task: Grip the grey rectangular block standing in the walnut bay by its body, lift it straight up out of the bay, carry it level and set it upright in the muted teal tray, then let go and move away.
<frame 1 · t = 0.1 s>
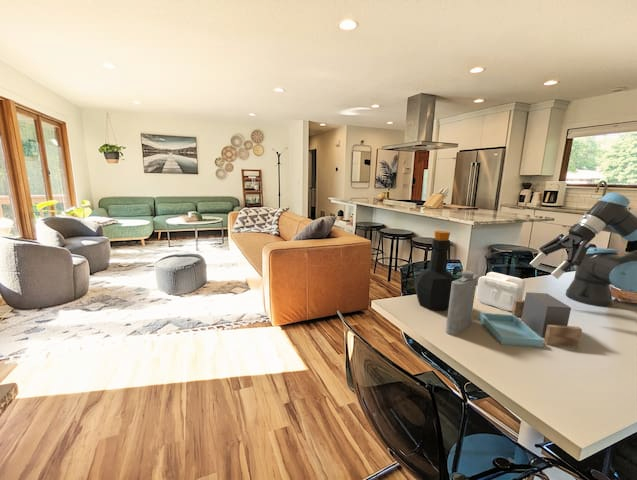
hand: (542, 270, 118), 15 cm above the table, tool tilted 35°, fingers open, 13 cm apart
cable organizer: (498, 305, 123), on the table
grey rectangular block: (541, 329, 103), on the table
walnut bay: (541, 329, 103), on the table
hip flask: (459, 327, 103), on the table
teal tray: (507, 331, 101), on the table
bottle: (433, 305, 121), on the table
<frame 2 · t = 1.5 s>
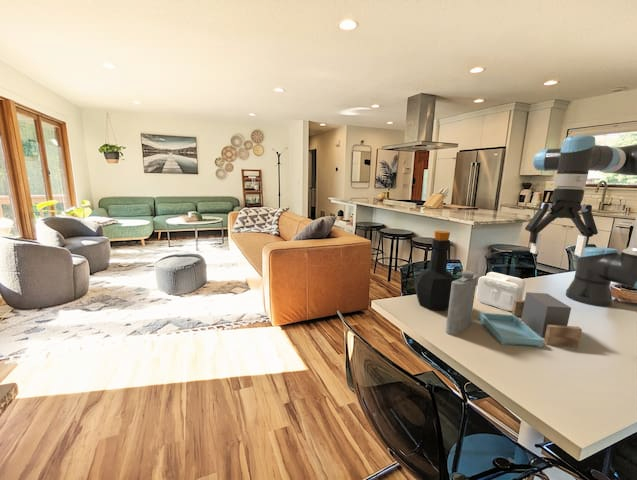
hand: (555, 254, 98), 27 cm above the table, tool pointing down, fingers open, 13 cm apart
nothing on the table moved.
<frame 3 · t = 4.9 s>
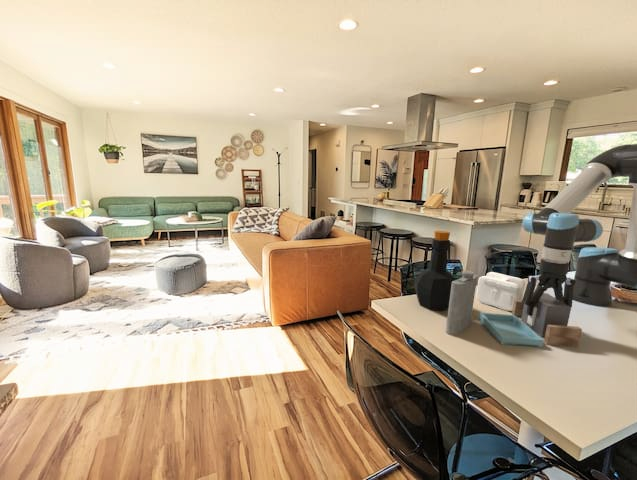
hand: (542, 324, 103), 2 cm above the table, tool pointing down, fingers closed on grey rectangular block, 7 cm apart
grey rectangular block: (541, 329, 103), on the table, touching gripper
everything else where it was.
when the fingers open (4 cm above the table, at t = 13.2 s): grey rectangular block drops 1 cm, resting on teal tray.
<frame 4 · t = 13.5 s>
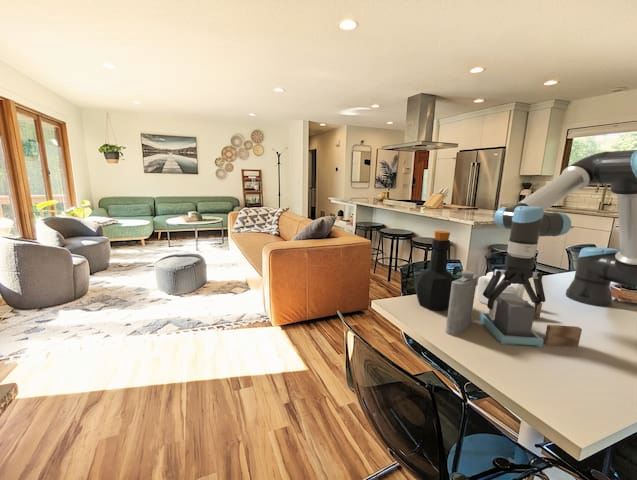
hand: (509, 319, 100), 5 cm above the table, tool pointing down, fingers open, 11 cm apart
grey rectangular block: (507, 330, 101), point 1 cm above the table, touching teal tray
everything else where it was.
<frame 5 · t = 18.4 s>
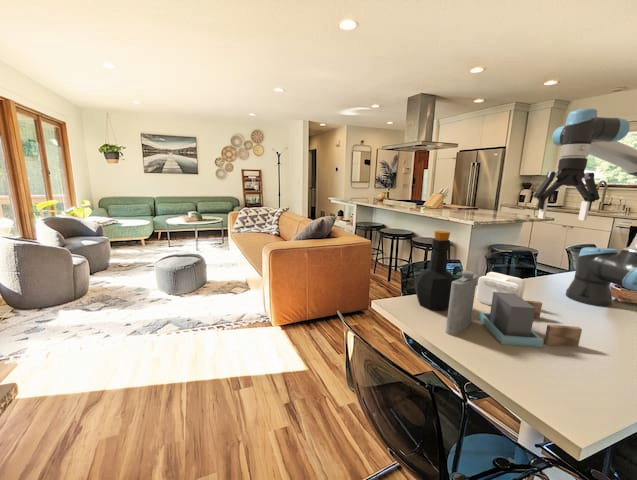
hand: (561, 219, 108), 37 cm above the table, tool pointing down, fingers open, 13 cm apart
nothing on the table moved.
at the end: grey rectangular block 0.0 cm off-centre on the teal tray, point 0.6 cm above the teal tray's base; grey rectangular block tilted 0°; the gripper is holding nothing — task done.
